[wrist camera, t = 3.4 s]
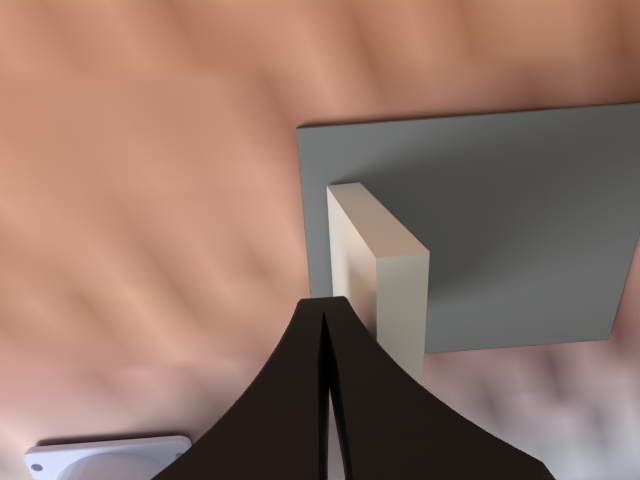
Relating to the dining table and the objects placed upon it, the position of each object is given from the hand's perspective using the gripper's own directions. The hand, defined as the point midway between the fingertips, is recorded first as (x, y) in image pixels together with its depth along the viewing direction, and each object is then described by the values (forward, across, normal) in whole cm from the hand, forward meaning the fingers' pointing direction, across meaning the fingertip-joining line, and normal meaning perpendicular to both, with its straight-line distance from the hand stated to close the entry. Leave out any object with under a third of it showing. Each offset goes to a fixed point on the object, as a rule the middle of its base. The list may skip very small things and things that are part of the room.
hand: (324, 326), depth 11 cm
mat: (+5, -6, 0) cm, 8 cm away
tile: (+4, -1, 0) cm, 4 cm away
